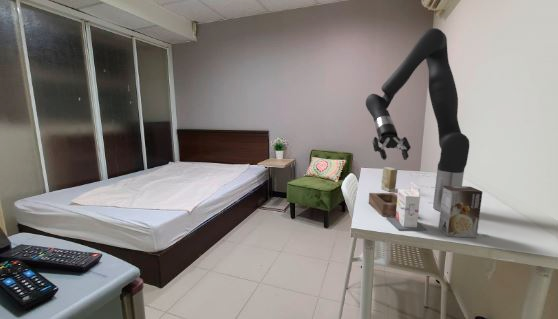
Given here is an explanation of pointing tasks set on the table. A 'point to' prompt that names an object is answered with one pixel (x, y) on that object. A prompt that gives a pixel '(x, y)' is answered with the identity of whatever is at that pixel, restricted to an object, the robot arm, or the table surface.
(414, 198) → the ink cartridge box
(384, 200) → the walnut holder
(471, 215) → the coffee box
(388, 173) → the skincare box
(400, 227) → the grey mat
